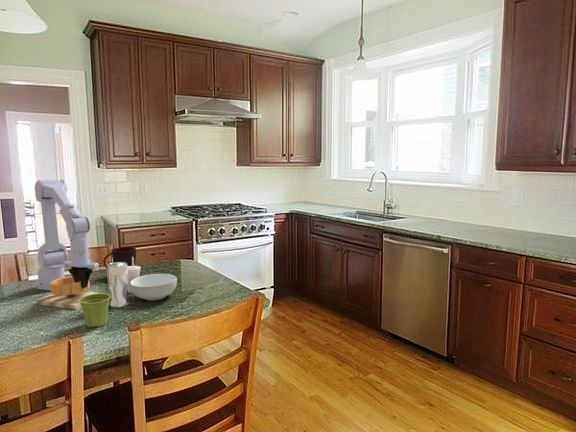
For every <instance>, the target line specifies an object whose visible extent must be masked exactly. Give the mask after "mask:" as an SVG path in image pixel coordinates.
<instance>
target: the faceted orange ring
mask: <svg viewBox="0 0 576 432" xmlns="http://www.w3.org/2000/svg"><path fill="white" fill-rule="evenodd" d="M67 283H73V284H67ZM90 283H91V282H90V280H89V281H88V286H87V287H86V288H82V287H81V282H78V283H75V281H74V279H73V277H72V275H68V276H65V277H62V278H59V279H56V280H53V281H52V282H51V283H50V286H51V291H50V293H51V294H54V295H71V294H77V293H81V292H84V291H88V290H89V289H90V288H91V286H90V285H91V284H90Z"/></svg>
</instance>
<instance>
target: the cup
mask: <svg viewBox="0 0 576 432" xmlns="http://www.w3.org/2000/svg"><path fill="white" fill-rule="evenodd" d="M110 256H111V257H112V263H115V262H125V263H127V267H128V266H132V257H134V266H136V262H137V248H136V247H134V246H121V247H115V248H112V249H111V252H110V253H108V254H107V255H106V256H104V258H103V261H102V262H103V266H104V267H105V268H106V270H107V269H108V266H107V264H106V260H107V259H108V257H110Z"/></svg>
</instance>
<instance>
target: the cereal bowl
mask: <svg viewBox="0 0 576 432" xmlns="http://www.w3.org/2000/svg"><path fill="white" fill-rule="evenodd" d="M177 284H178V278H177V276H176V275H174V274H169V273H150V274H145V275H141V276H140V275H139V277H137V278H135V279H133V280H132V281H131V282H130V286H131V290H132V292H133V293H132V294H133V295H134V296H135V297H137V298H140V299H144V300H145V301H160V300H163V299H165V298H166V297H167V296H170V295H171V294H172V293H173V292H175V290H176V288H177Z"/></svg>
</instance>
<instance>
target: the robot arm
mask: <svg viewBox="0 0 576 432" xmlns="http://www.w3.org/2000/svg"><path fill="white" fill-rule="evenodd" d="M67 185H68V184H67V182H66V181H65V180H64V179H51V180H50V179H48V180H46V179H45V180H41V179H40V180H39V179H38V180H36V182H35V185H34V194H35V195H34V196H35V199H36V201H37V202H39V203H40V205H41V206H40V207H41V216H42V223H43V224H42V225H43V226H42V227H43V234H44V243H43V244H42V245H40V246H39V248H38V249H37V263H38V265H39V269H38V271H37V280H38V281H37V282H38V287H36V289H37V290H41V291H42V290H45V291H50V292H51V286H50V283H51V282H52V281H53V280H56V279H59V278H62V277H66V276H65V275H66V274H65V268H69V269H68V273H69V274H70V276H72V277H73V279H74V281H75V283H78V282H81V287H82V288H86V287H87V286H88V281H89V282H90V277H91V274H92V272H93V271H96V270H99V269H100V264H99V263H97V262H94V261H91V259H90V255H89V254H90V253H89V239H88V237H89V236H88V233H89V232H90V230H91V224H90V221H89V218H88V217H87V216H85V215H82V214H81V213H80V211H79V209H78V207H77V206H76V204H74V203H71V201H70V200H69V197H68V195H67V193H68V186H67ZM56 204H57V205H58V206H59V214H60V215H61V217H62V219H63V220H64V222H65V229H66V230H65V231H66V232H67V237H68V240H69V244H70V257H71V260H69V252H68V250H67V246H66V245H65V244H63V243H62V242H60V238H59V229H58V219H57V210H56V209H57V208H56Z"/></svg>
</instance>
